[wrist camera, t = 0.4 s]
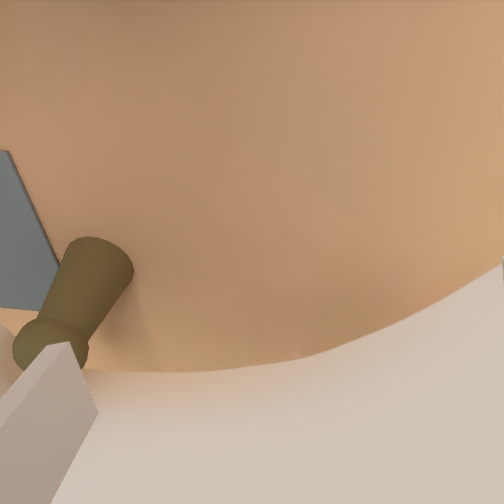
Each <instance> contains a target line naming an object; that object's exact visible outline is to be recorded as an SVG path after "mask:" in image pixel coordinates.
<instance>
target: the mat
mask: <svg viewBox="0 0 504 504" xmlns="http://www.w3.org/2000/svg"><path fill="white" fill-rule="evenodd" d="M59 266H60V264H59V262H58V260H57V258H56V255H55V253H54V251H53V249H52V247H51V244H50V242H49V240H48V238H47V236H46V233H45V231H44V229H43V227H42V225H41V222H40V220H39V218H38V216H37V213H36V211H35V209H34V207H33V205H32V202H31V200H30V198H29V196H28V194H27V191H26V189H25V187H24V185H23V183H22V180H21V178H20V176H19V174H18V171H17V169H16V167H15V165H14V163H13V160H12V158H11V156H10V154H9V152H8V151H0V307H2V308H13V309H24V310H35V311H40V309H41V307H42V305H43V302H44V300H45V298H46V296H47V293H48V291H49V289H50V286H51V284H52V282H53V279H54V277H55V275H56V273H57V270H58V268H59Z"/></svg>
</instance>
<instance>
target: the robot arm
mask: <svg viewBox="0 0 504 504" xmlns="http://www.w3.org/2000/svg"><path fill="white" fill-rule="evenodd" d="M502 264H503V279H504V256H502ZM97 414H98V411H97V408H96V406H95V404H94V401H93V399H92V396H91V394H90V391H89V389H88V386H87V384H86V381H85V379H84V376H83V374H82V372H81V369H80V367H79V364H78V362H77V359H76V357H75V354H74V352H73V349H72V347H71V345H70V342H69V341H67V342H62V343H57V344H52V345H47V346H46V347H45V348H44V349H43V350H42V351H41V353H40V354H39V355H38V356H37V357H36V358H35V359H34V361H33V362H32V363H31V364H30V365H29V366H28V368H27V369H26V370H25V371H24V372H23V373H22V375H21V376H20V377H19V378H18V379H17V380H16V382H15V383H14V384H13V385H12V386H11V387H10V389H9V390H8V391H7V392H6V393H5V394H4V396H3V397H2V398H1V399H0V504H50V503H51V501H52V499H53V498H54V496H55V494H56V492H57V490H58V488H59V486H60V484H61V482H62V481H63V479H64V477H65V475H66V473H67V471H68V469H69V467H70V465H71V463H72V461H73V460H74V458H75V456H76V454H77V452H78V450H79V448H80V446H81V445H82V443H83V441H84V439H85V437H86V435H87V433H88V431H89V429H90V427H91V426H92V424H93V422H94V420H95V418H96V416H97Z"/></svg>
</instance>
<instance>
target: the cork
mask: <svg viewBox="0 0 504 504" xmlns="http://www.w3.org/2000/svg"><path fill="white" fill-rule="evenodd" d="M133 273H134V269H133V265H132V262H131V261H130V259H129V258H128V256H127V255H126V254H125V253H124V252H123V251H122V250H121V249H120V248H118V247H117V246H115V245H113V244H112V243H110V242H108V241H105V240H102V239H99V238H92V237H84V238H78V239H76V240H74V241H73V242H71V243H70V245H69V246H68V248H67V250H66V252H65V254H64V257H63V259H62V261H61V263H60V266H59V268H58V270H57V273H56V275H55V277H54V279H53V282H52V284H51V286H50V289H49V291H48V293H47V296H46V298H45V300H44V302H43V305H42V307H41V309H40V312H39V314H38V316H37V318H36V319H34V320H32V321H30V322H28V323H27V324H26V325H25V326H24V327H22V329H21V330H20V332H19V333H18V335H17V336H16V338H15V340H14V343H13V346H12V347H13V358H14V360H15V362H16V364H17V365H18V366H19V367H20V368H21V369H22V370H23V371H25V370H26V369H27V368H28V366H29V365H30V364H31V363H32V362H33V361H34V359H35V358H36V357H37V356H38V355H39V354H40V353H41V351H42V350H43V349H44V348H45V347H46V346H47V345H52V344H57V343H62V342H67V341H69V342H70V345H71V347H72V349H73V352H74V354H75V357H76V359H77V362H78V364H79V367H80V369H82V368H83V367H84V365H85V363H86V360H87V356H88V350H89V346H88V341H89V339H90V338H91V336H92V335H93V333H94V332H95V331H96V329H97V328H98V326H99V325H100V323H101V322H102V321H103V319H104V318H105V316H106V315H107V313H108V312H109V311H110V309H111V308H112V306H113V305H114V303H115V302H116V301H117V299H118V298H119V296H120V295H121V293H122V292H123V291H124V289H125V288H126V286H127V285H128V283H129V282H130V281H131V279H132V277H133Z"/></svg>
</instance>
